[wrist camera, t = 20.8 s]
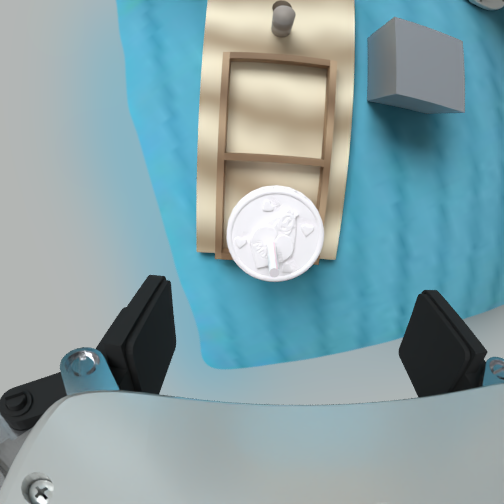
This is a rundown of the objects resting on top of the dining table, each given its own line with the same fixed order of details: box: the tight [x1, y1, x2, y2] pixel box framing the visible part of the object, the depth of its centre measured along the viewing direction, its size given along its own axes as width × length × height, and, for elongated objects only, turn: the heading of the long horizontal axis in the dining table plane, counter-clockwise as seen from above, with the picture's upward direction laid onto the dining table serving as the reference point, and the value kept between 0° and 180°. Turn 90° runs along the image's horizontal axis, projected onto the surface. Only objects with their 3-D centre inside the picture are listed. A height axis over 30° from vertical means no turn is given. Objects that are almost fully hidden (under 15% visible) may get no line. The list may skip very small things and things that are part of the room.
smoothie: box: [227, 185, 324, 282], centre depth 22 cm, size 6×6×14 cm
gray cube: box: [367, 17, 465, 114], centre depth 21 cm, size 7×7×7 cm
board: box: [197, 0, 355, 265], centre depth 24 cm, size 28×14×5 cm, turn 177°
